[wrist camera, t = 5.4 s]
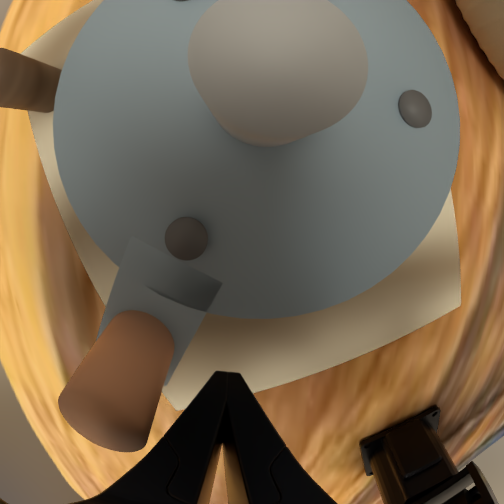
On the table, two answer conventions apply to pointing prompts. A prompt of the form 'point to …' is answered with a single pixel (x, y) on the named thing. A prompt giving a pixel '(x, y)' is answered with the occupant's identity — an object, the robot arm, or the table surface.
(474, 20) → the canister
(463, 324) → the table surface
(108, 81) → the flange plate
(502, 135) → the table surface
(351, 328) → the board
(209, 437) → the robot arm
